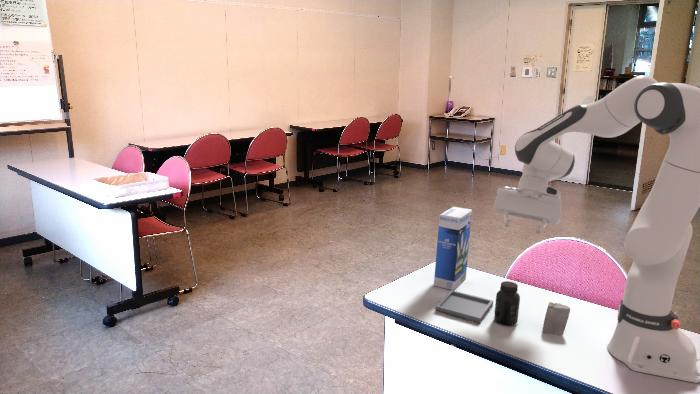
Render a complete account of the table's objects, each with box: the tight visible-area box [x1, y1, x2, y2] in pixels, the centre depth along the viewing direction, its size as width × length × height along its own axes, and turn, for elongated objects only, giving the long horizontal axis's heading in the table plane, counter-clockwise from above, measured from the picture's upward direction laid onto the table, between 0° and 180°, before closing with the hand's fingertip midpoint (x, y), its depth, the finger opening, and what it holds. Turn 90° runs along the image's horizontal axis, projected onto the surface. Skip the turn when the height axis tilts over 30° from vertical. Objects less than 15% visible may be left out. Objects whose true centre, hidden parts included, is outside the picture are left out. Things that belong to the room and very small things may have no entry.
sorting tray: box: [435, 290, 494, 325], centre depth 164 cm, size 14×14×2 cm
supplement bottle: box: [493, 280, 521, 327], centre depth 156 cm, size 7×7×12 cm
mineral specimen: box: [542, 302, 571, 336], centre depth 153 cm, size 7×9×8 cm
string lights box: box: [433, 206, 473, 291], centre depth 181 cm, size 13×8×26 cm, turn 149°
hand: (522, 229), depth 161 cm, fingers open, 8 cm apart
